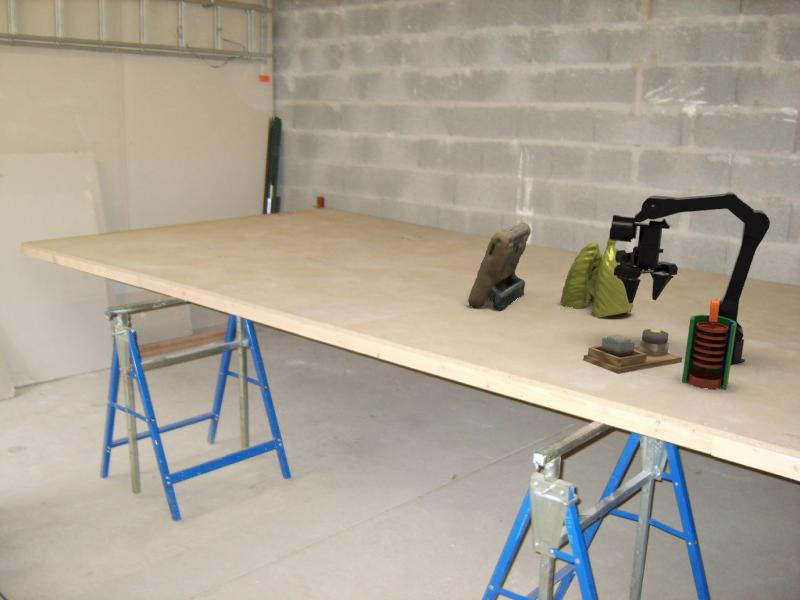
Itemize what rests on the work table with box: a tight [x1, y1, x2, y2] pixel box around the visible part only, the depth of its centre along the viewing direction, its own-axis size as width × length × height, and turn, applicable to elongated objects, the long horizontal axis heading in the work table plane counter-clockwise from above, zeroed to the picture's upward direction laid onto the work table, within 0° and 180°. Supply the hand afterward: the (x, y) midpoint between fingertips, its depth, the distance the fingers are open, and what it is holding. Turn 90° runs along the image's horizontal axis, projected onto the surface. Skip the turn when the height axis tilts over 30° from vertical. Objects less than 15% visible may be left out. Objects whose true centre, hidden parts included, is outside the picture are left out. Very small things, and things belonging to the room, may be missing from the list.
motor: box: [681, 298, 737, 390], centre depth 192 cm, size 10×9×20 cm
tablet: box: [467, 221, 532, 312], centre depth 268 cm, size 33×14×25 cm, turn 162°
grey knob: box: [641, 328, 670, 344], centre depth 213 cm, size 6×6×6 cm
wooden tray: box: [582, 339, 683, 375], centre depth 209 cm, size 12×23×4 cm, turn 122°
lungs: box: [560, 238, 634, 319], centre depth 261 cm, size 25×16×24 cm, turn 30°
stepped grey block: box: [601, 333, 635, 358], centre depth 206 cm, size 6×5×6 cm
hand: (642, 301), depth 219 cm, fingers open, 9 cm apart
